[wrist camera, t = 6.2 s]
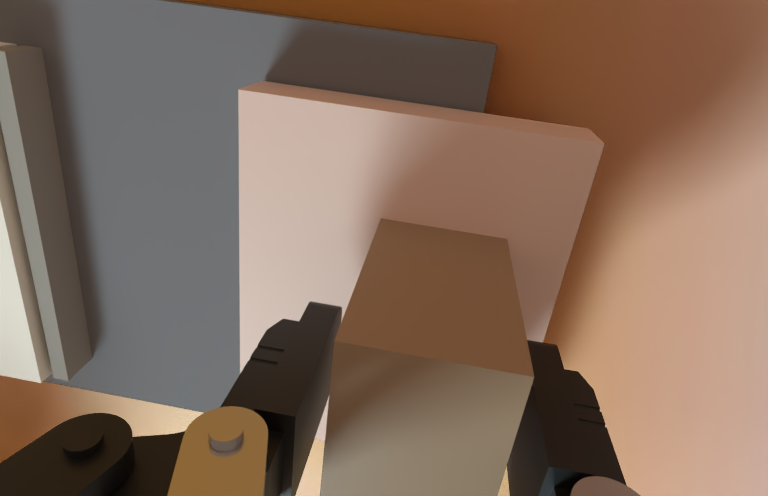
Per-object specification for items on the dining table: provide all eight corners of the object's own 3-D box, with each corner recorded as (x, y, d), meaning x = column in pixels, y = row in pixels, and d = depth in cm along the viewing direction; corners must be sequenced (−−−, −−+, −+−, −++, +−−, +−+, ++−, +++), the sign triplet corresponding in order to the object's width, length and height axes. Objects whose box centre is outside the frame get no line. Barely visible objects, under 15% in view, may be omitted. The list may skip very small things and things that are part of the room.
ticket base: (494, 43, 13) (501, 51, 10) (417, 431, 18) (411, 491, 16) (-364, -74, 14) (-517, -89, 12) (-192, 315, 20) (-274, 354, 18)
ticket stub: (588, 128, 12) (706, 239, 6) (498, 437, 17) (518, 672, 11) (261, 80, 13) (94, 143, 7) (257, 391, 17) (152, 591, 11)
